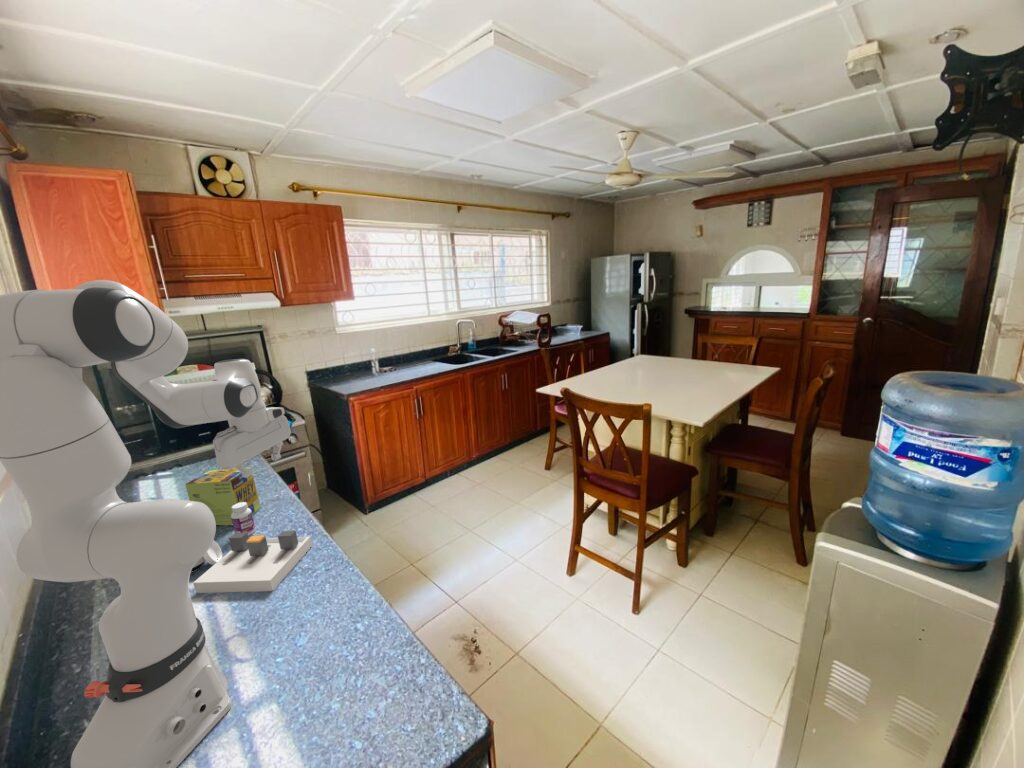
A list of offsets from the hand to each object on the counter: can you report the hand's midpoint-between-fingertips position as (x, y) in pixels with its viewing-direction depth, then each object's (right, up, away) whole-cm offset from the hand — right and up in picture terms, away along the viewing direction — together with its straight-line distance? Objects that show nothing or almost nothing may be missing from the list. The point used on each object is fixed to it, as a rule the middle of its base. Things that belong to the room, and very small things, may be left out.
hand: (262, 467), depth 110 cm
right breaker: (+6, -22, +2) cm, 23 cm away
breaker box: (-1, -27, -1) cm, 27 cm away
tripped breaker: (-1, -23, 0) cm, 23 cm away
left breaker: (-8, -23, +3) cm, 24 cm away
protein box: (-28, -23, +28) cm, 46 cm away
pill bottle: (-16, -24, +17) cm, 34 cm away
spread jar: (-20, -28, +3) cm, 34 cm away
